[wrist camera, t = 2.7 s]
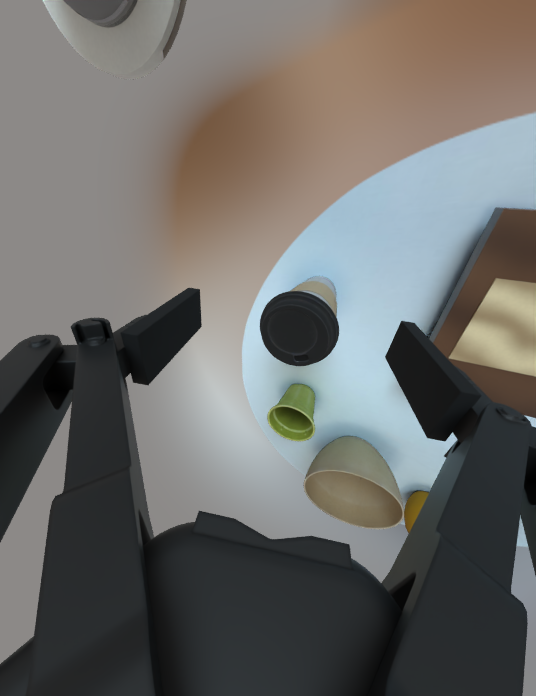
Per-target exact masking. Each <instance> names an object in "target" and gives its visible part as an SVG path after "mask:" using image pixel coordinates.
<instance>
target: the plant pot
mask: <svg viewBox="0 0 536 696" xmlns="http://www.w3.org/2000/svg"><path fill="white" fill-rule="evenodd" d="M314 404H315V395H314V392H313V391H312V389H311V388H309V387H308V386H306V385H303V384H293V385H291V386H290V387H289V388H288V390H287V391H286V393H285V394H284V396H283V397H282V399H281V400H280V401H279V403H278V404H277V405H276V406H274V407H272V408H271V409H270V411H269V412H268V416H267V419H268V423H269V425H270V426H271V428H272V429H273V430H274V431H275V432H276V433H277V434H279V435H280V436H282V437H284V438H286V439H289V440H293V441H306V440H308V439H310V438H311V437H312V436H313V435H314V432H315V425H314V420H313V414H314Z"/></svg>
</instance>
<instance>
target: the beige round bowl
mask: <svg viewBox="0 0 536 696" xmlns="http://www.w3.org/2000/svg"><path fill="white" fill-rule="evenodd" d="M304 490H305V493H306V495H307V496H308V498H309V499H310V500H311V502H312V503H313V504H314V505H316V506H317V507H318V508H319V509H321V510H322V511H323V512H325V513H326V514H328V515H330V516H331V517H333V518H335V519H338V520H340V521H342V522H345V523H347V524H350V525H354V526H358V527H362V528H368V529H387V528H391V527H394V526H396V525H398V524H399V523H400V522H401V521H402V520H403V517H404V509H403V503H402V498H401V495H400V491H399V488H398V485H397V483H396V480H395V478H394V476H393V474H392V472H391V470H390V468H389V466H388V464H387V463H386V461H385V460H384V459H383V457H382V456H381V455H380V454H379V452H378V451H377V450H376V449H375V448H374V447H373V446H372V445H371V444H370V443H368V442H367V441H365V440H363V439H361V438H358V437H354V436H344V437H340V438H338V439H336V440H334V441H332V442H331V443H329V444H328V445H327V446H325V447H324V448H323V449H322V450H321V451H320V452H319V453H318V455H317V456H316V457H315V459H314V460H313V462H312V464H311V466H310V468H309V470H308V472H307V474H306V477H305V481H304Z"/></svg>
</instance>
